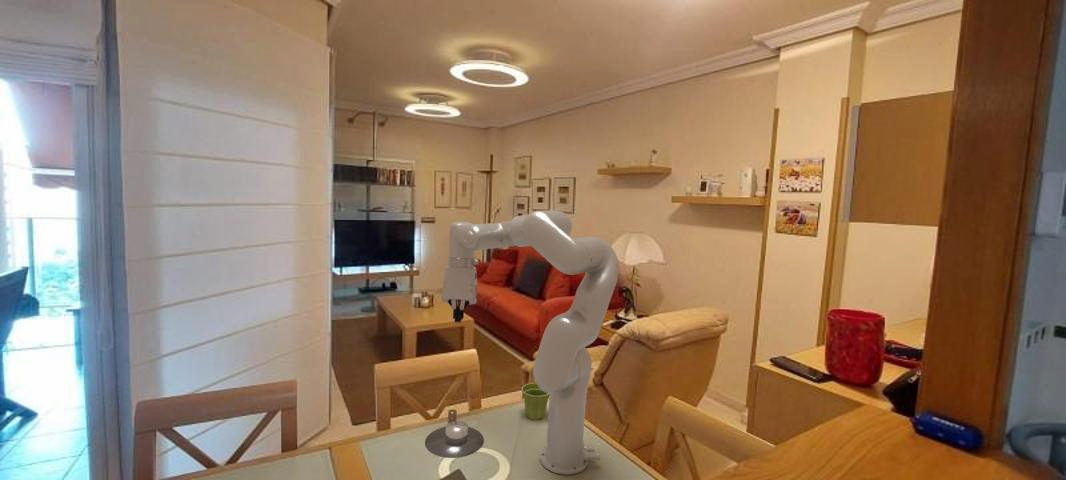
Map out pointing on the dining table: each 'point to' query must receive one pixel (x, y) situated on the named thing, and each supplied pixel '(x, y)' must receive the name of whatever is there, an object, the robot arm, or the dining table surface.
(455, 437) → the cover
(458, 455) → the turntable
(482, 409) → the dining table surface
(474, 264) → the robot arm
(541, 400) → the plant pot
